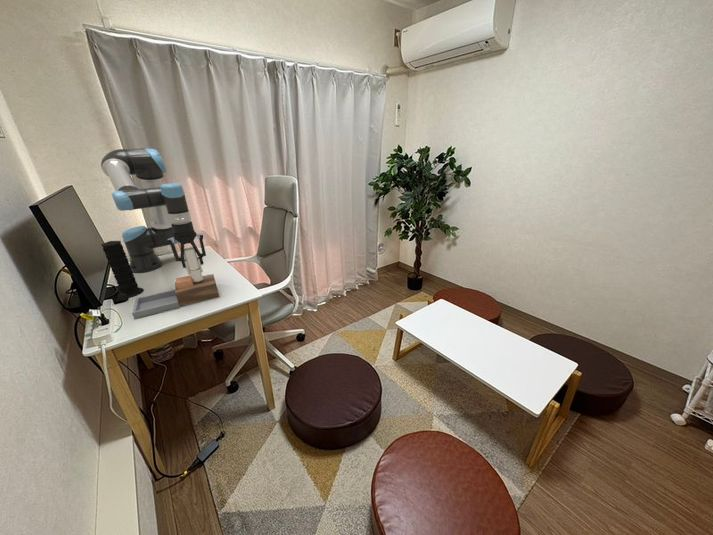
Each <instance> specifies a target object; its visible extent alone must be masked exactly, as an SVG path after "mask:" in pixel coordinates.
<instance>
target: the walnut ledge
mask: <svg viewBox="0 0 713 535" xmlns="http://www.w3.org/2000/svg"><path fill="white" fill-rule="evenodd" d="M202 277H203V280H201V281H198V282H193V286H191V287H187V288H182V289H178V288H177V285H176V281H175V283H174V284H175V285H174V286H175V289H174V290H175V294H176V297H177V300H178V303H179V306H180V308H181V307H185V306H189V305H193V304H197V303H200V302H205V301H208V300H209V301H210V300H213V299H217V298H220V294H219V289H218V286H217V282H216V278H215V276H214V273H212V274H207V275H202Z"/></svg>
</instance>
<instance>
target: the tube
mask: <svg viewBox="0 0 713 535" xmlns="http://www.w3.org/2000/svg"><path fill="white" fill-rule="evenodd" d="M197 257H198V255H197V253H196V252H195V250H194V248H193V246H192V247H186V248H184V258H185V260H186V261H187V264H188V268H189V271H190V275H191V278H192V281H193V282H198V281H201V280H203V277H202V276H203V275H202V273H203V272H201V270H200V267H199V263H198V259H197Z"/></svg>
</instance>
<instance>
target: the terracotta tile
mask: <svg viewBox="0 0 713 535" xmlns="http://www.w3.org/2000/svg"><path fill="white" fill-rule="evenodd" d="M175 282H176V285H177V288H178V289H182V288H187V287H191V286H193V281H192V278H191V274H190V275H185V276H180V277H175Z"/></svg>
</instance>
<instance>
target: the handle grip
mask: <svg viewBox="0 0 713 535" xmlns="http://www.w3.org/2000/svg"><path fill="white" fill-rule="evenodd" d="M100 246H101V247H102V250H103V252H104V255H105V257H106V259H107V262H108V265H109V268H111V272H112V275H113V277H114V278H115V281H116V284H117V287H119V288H118V289H119V291H120V293H118V295H117V298H118V299H121V300H122V299H124V300H125V299H129V298H134V297H137V296H138V295H141V294H143V293H144V290H145V289H144V288H142V287H139V286H138V283H137V281H136V277H135V275H134V272H132V269H131V266H130V261H129V258H128V257H127V254H126V252H125V249H124V246H123V244H122V241H121V240H109V241H106V242H104V243H102V244H100ZM121 293H122V294H126V295H122V294H121Z"/></svg>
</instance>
